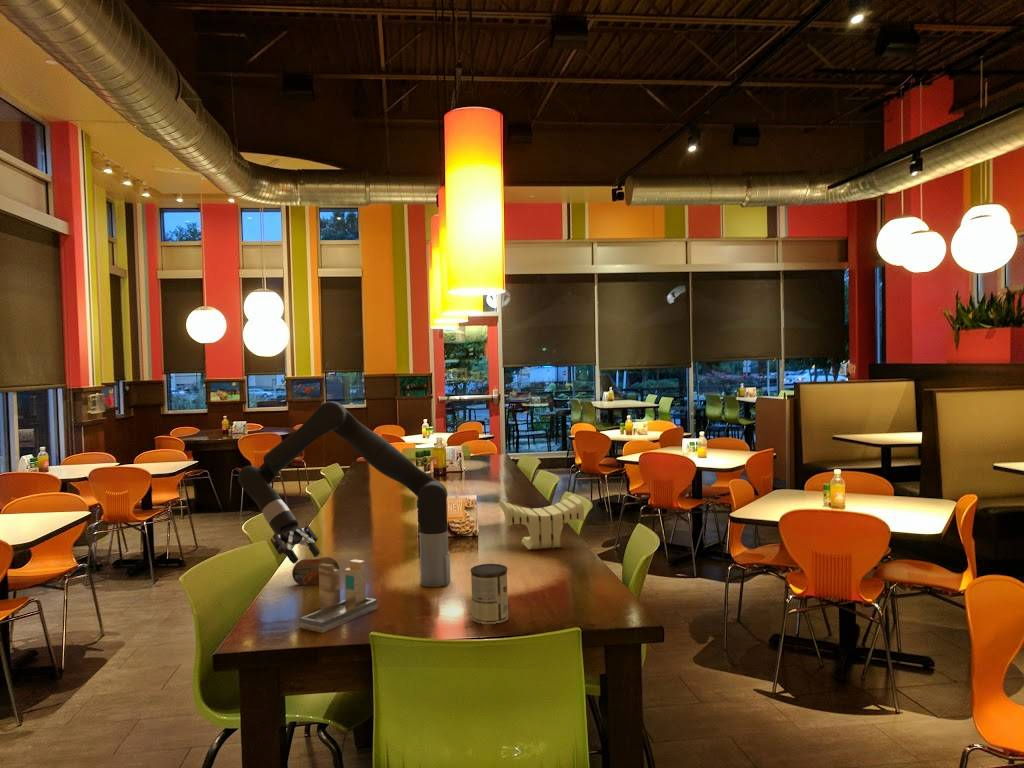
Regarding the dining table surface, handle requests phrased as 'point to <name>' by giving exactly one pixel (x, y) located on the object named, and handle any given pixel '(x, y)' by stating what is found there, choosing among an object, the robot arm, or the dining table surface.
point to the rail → (343, 602)
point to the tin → (310, 570)
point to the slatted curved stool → (544, 521)
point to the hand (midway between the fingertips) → (307, 558)
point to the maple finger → (328, 585)
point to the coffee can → (489, 593)
